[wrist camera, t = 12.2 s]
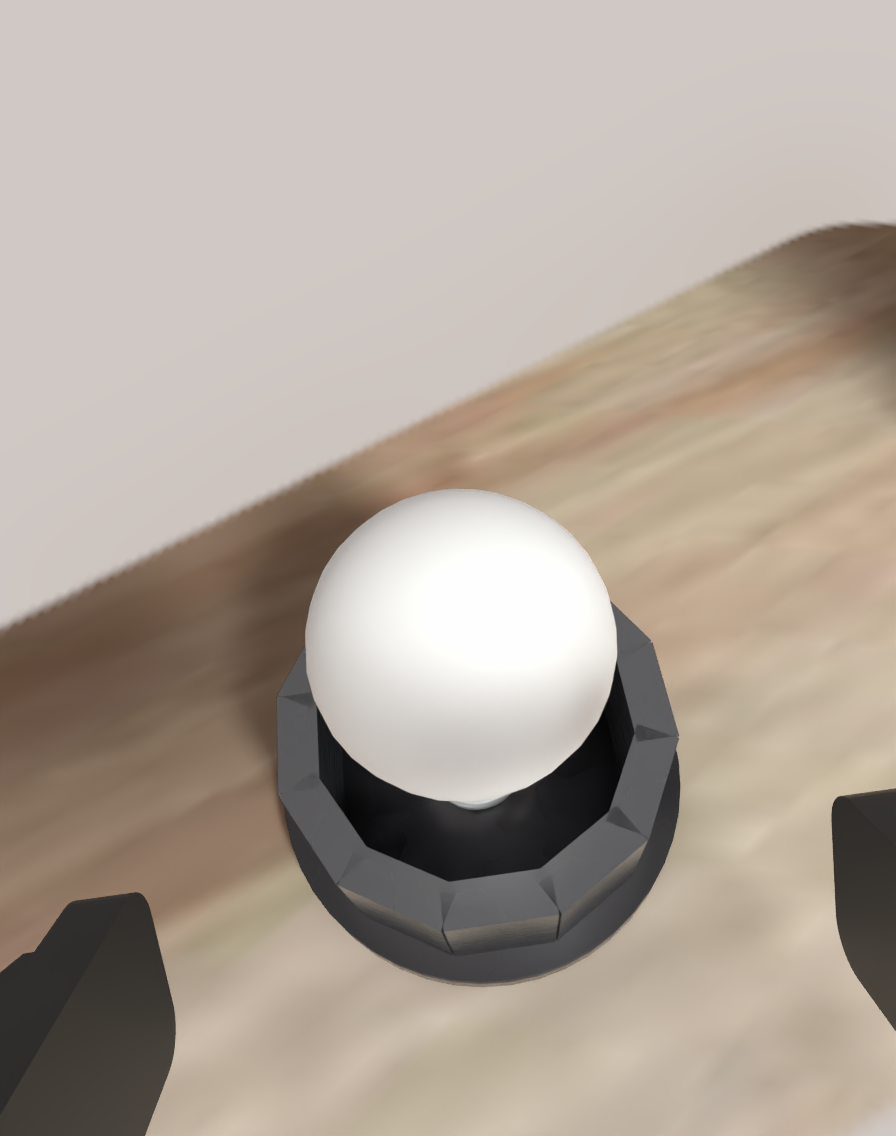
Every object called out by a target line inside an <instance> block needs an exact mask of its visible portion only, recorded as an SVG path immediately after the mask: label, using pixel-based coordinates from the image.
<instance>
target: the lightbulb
mask: <svg viewBox="0 0 896 1136" xmlns="http://www.w3.org/2000/svg"><path fill="white" fill-rule="evenodd" d="M305 644H306V669H307V676H308V679H309V683H310V687H311V691H312V694H313V698H314V701H315V703H316V705H317V707H318V709H319V711H320V712H321V714H322V716H323V718H324V720H325V722H326V724H327V726H328V728H329V730H330V731H331V733H332V735H333V737H334V738H335V739H336V740H337V741H338V742H339V744H340V745H341V746H342V747H343V748H344V749H345V751H346V752H347V753H348V754H349V755H350V757H351V758H353V759H354V760H355V761H356V762H358V763H359V764H360V765H362V766H363V767H364V768H366V769H367V770H368V771H369V772H371V773H372V774H373V775H375V776H376V777H378V778H380V779H382V780H384V781H386V782H388V783H390V784H392V785H394V786H396V787H398V788H400V789H402V790H404V791H407V792H409V793H411V794H415V795H419V796H423V797H427V798H431V799H435V800H439V801H448V802H450V803H451V804H453V805H455V806H457V807H460V808H464V809H468V810H481V809H487V808H490V807H493V806H496V805H497V804H499V803H501V802H502V801H504V800H505V799H506V798H507V797H508V796H509V795H510V794H511V793H513V792H516V791H518V790H521V789H524V788H527V787H528V786H530V785H532V784H533V783H535V782H537V781H538V780H540V779H542V778H543V777H545V776H547V775H548V774H550V773H552V772H553V771H554V770H555V769H556V768H557V767H558V766H559V765H560V764H562V763H563V762H564V761H565V760H566V759H567V758H568V757H569V756H570V755H571V754H572V753H574V752H575V751H576V750H577V749H578V748H579V747H580V746H581V745H582V743H583V742H584V741H585V739H586V738H587V736H588V735H589V734H590V732H591V731H592V729H593V728H594V727H595V725H596V724H597V722H598V721H599V718H600V716H601V714H602V711H603V709H604V707H605V704H606V702H607V700H608V697H609V695H610V690H611V686H612V681H613V676H614V671H615V665H616V660H617V634H616V624H615V619H614V615H613V611H612V607H611V603H610V600H609V596H608V592H607V588H606V586H605V584H604V583H603V581H602V579H601V577H600V575H599V573H598V571H597V569H596V567H595V565H594V563H593V562H592V560H591V559H590V557H589V555H588V554H587V552H586V551H585V550H584V549H583V548H582V546H581V545H580V544H579V543H578V541H577V540H576V539H575V538H574V536H573V535H572V534H571V533H570V532H568V531H567V530H566V529H565V528H564V527H562V526H561V525H560V524H559V523H558V522H556V521H555V520H554V519H553V518H551V517H550V516H548V515H546V514H544V513H542V512H541V511H539V510H537V509H535V508H534V507H532V506H530V505H528V504H526V503H524V502H522V501H520V500H517V499H514V498H511V497H508V496H505V495H502V494H500V493H494V492H488V491H483V490H477V489H446V490H439V491H432V492H426V493H423V494H419V495H416V496H413V497H410V498H406V499H403V500H401V501H399V502H397V503H395V504H393V505H391V506H389V507H387V508H385V509H383V510H381V511H380V512H378V513H377V514H376V515H374V516H373V517H371V518H370V519H369V520H367V521H366V522H364V523H363V524H362V525H361V526H359V527H358V528H357V529H356V530H355V531H354V532H353V533H352V534H351V535H350V536H349V537H348V538H347V539H346V540H345V541H344V542H343V543H342V544H341V545H340V546H339V547H338V548H337V550H336V551H335V553H334V554H333V556H332V557H331V559H330V561H329V562H328V564H327V565H326V567H325V568H324V570H323V572H322V574H321V577H320V579H319V582H318V584H317V587H316V589H315V591H314V594H313V597H312V600H311V604H310V607H309V613H308V619H307V624H306V630H305Z"/></svg>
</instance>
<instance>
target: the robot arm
mask: <svg viewBox="0 0 896 1136" xmlns="http://www.w3.org/2000/svg"><path fill="white" fill-rule="evenodd" d="M832 840H833V861H834V882H835V902H836V919H837V926H838V931H839V935H840V939H841V942H842V946H843V949H844V952H845V954H846V957H847V959H848V961H849V964H850V966H851V968H852V970H853V971H854V973H855V975H856V976H857V978H858V979H859V981H860V982H861V984H862V985H863V986H864V988H865V989H866V991H867V992H868V993H869V995H870V996H871V997H872V999H873V1000H874V1002H875V1003H876V1004H877V1006H878V1007H879V1009H880V1010H881V1011H882V1013H883V1014H884V1016H885V1017H886V1018H887V1020H888V1021H889V1022H890V1024H891V1025H892V1027H893V1028H894V1029H895V1031H896V789H888V790H881V791H874V792H867V793H860V794H852V795H845V796H839V797H837V798H836V799H835V801H834V803H833V807H832ZM175 1035H176V1024H175V1012H174V1006H173V1001H172V997H171V993H170V989H169V985H168V981H167V977H166V973H165V968H164V964H163V960H162V956H161V952H160V948H159V944H158V940H157V935H156V931H155V927H154V923H153V919H152V915H151V911H150V908H149V905H148V903H147V901H146V899H145V897H144V896H143V895H142V894H140V893H137V892H135V893H128V894H120V895H113V896H106V897H99V898H92V899H85V900H77V901H73V902H71V903H70V904H68V905H67V906H66V908H65V909H64V910H63V912H62V913H61V914H60V916H59V917H58V919H57V920H56V922H55V923H54V924H53V926H52V927H51V929H50V930H49V932H48V933H47V935H46V936H45V937H44V939H43V940H42V942H41V943H40V945H39V946H38V947H37V949H36V950H35V952H32V953H25V954H22V955H21V956H20V957H19V958H18V959H16V960H15V961H14V962H13V963H11V964H10V965H9V966H8V967H7V968H5V969H4V970H3V971H2V972H1V973H0V1136H145V1134H146V1131H147V1129H148V1126H149V1123H150V1121H151V1118H152V1115H153V1113H154V1110H155V1108H156V1105H157V1102H158V1100H159V1097H160V1094H161V1092H162V1089H163V1086H164V1084H165V1081H166V1079H167V1076H168V1073H169V1070H170V1067H171V1064H172V1060H173V1054H174V1047H175Z"/></svg>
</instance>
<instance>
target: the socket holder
mask: <svg viewBox="0 0 896 1136" xmlns="http://www.w3.org/2000/svg"><path fill="white" fill-rule="evenodd" d="M610 603H611V607H612V611H613V615H614V619H615V624H616V634H617V660H616V665H615V671H614V676H613V681H612V686H611V690H610V695H609V697H608V700H607V702H606V704H605V707H604V709H603V711H602V714H601V716H600V718H599V721H598V722H597V724H596V725H595V727H594V728H593V729H592V731H591V732H590V734H589V735H588V736H587V738H586V739H585V741H584V742H583V743H582V745H581V746H580V747H579V748H578V749H577V750H576V751H575V752H574V753H572V754H571V755H570V756H569V757H568V758H567V759H566V760H565V761H564V762H563V763H562V764H560V765H559V766H558V767H557V768H556V769H555V770H554V771H553V772H552V773H550V774H548V775H547V776H545V777H543V778H542V779H540V780H538V781H537V782H535V783H533V784H532V785H530V786H528V787H527V788H524V789H521V790H518V791H516V792H513V793H511V794H510V795H509V796H508V797H507V798H506V799H505V800H504V801H502V802H501V803H499V804H497V805H496V806H493V807H490V808H487V809H481V810H468V809H464V808H460V807H457V806H455V805H453V804H451V803H450V802H448V801H439V800H435V799H431V798H427V797H423V796H419V795H415V794H411V793H409V792H407V791H404V790H402V789H400V788H398V787H396V786H394V785H392V784H390V783H388V782H386V781H384V780H382V779H380V778H378V777H376V776H375V775H373V774H372V773H371V772H369V771H368V770H367V769H366V768H364V767H363V766H362V765H360V764H359V763H358V762H356V761H355V760H354V759H353V758H351V757H350V755H349V754H348V753H347V752H346V751H345V749H344V748H343V747H342V746H341V745H340V744H339V742H338V741H337V740H336V739H335V738H334V737H333V735H332V733H331V731H330V730H329V728H328V726H327V724H326V722H325V720H324V718H323V716H322V714H321V712H320V711H319V709H318V707H317V705H316V703H315V701H314V698H313V694H312V691H311V687H310V683H309V679H308V676H307V669H306V645H305V647H304V649H303V650H302V652H301V654H300V656H299V658H298V659H297V661H296V663H295V665H294V666H293V668H292V670H291V672H290V674H289V675H288V677H287V679H286V681H285V683H284V684H283V686H282V688H281V690H280V691H279V693H278V697H277V752H278V794H279V798H280V799H281V801H282V802H283V804H284V805H285V813H286V821H287V825H288V830H289V834H290V839H291V843H292V846H293V849H294V851H295V854H296V857H297V860H298V862H299V865H300V868H301V870H302V871H303V873H304V875H305V877H306V879H307V881H308V882H309V884H310V886H311V888H312V890H313V892H314V893H315V894H316V896H317V897H318V898H319V900H320V901H321V902H322V904H323V905H324V907H325V908H326V909H327V911H328V912H329V913H330V914H331V915H332V916H333V917H334V918H335V919H336V920H337V921H338V922H339V923H340V924H341V925H342V926H343V927H344V928H345V930H346V931H347V932H348V933H349V934H350V935H351V936H353V937H354V938H355V939H356V940H357V941H358V942H360V943H361V944H362V945H363V946H365V947H366V948H367V949H369V950H370V951H371V952H373V953H374V954H375V955H377V956H378V957H380V958H382V959H384V960H385V961H387V962H389V963H391V964H393V965H394V966H396V967H398V968H400V969H402V970H405V971H407V972H410V973H412V974H415V975H418V976H420V977H423V978H426V979H429V980H434V981H438V982H443V983H447V984H452V985H460V986H474V987H492V986H506V985H514V984H518V983H523V982H527V981H532V980H536V979H540V978H542V977H545V976H548V975H550V974H553V973H556V972H558V971H561V970H564V969H566V968H567V967H569V966H571V965H573V964H575V963H576V962H578V961H580V960H582V959H584V958H585V957H587V956H589V955H590V954H592V953H593V952H594V951H596V950H597V949H598V948H600V947H601V946H602V945H604V944H605V943H606V942H607V941H609V940H610V939H611V938H612V937H613V936H614V935H615V934H616V933H617V932H618V931H619V930H620V929H621V928H622V927H623V926H624V925H625V924H626V923H627V922H628V921H629V920H630V919H631V918H632V916H633V915H634V913H635V912H636V911H637V909H638V908H639V907H640V905H641V904H642V903H643V901H644V900H645V898H646V897H647V895H648V893H649V892H650V890H651V888H652V886H653V884H654V882H655V880H656V878H657V877H658V875H659V873H660V871H661V869H662V867H663V865H664V863H665V860H666V857H667V855H668V852H669V849H670V846H671V844H672V841H673V837H674V832H675V828H676V823H677V818H678V813H679V799H680V775H679V761H678V756H677V752H676V747H677V743H678V740H679V738H678V737H679V734H678V730H677V727H676V723H675V720H674V716H673V713H672V709H671V706H670V702H669V699H668V695H667V692H666V688H665V685H664V681H663V678H662V674H661V671H660V667H659V664H658V660H657V657H656V653H655V650H654V646H653V643H651V640H650V639H649V638H648V637H647V636H646V635H645V634H644V633H643V632H642V631H641V630H640V629H639V628H638V627H637V626H636V625H635V624H634V623H633V622H632V621H631V620H629V619H628V618H627V617H626V616H625V615H624V614H623V613H622V612H621V611H620V610H619V609H618V608H617V607H616V606H615V605H614V604H613V603H612V602H611V601H610Z"/></svg>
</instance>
